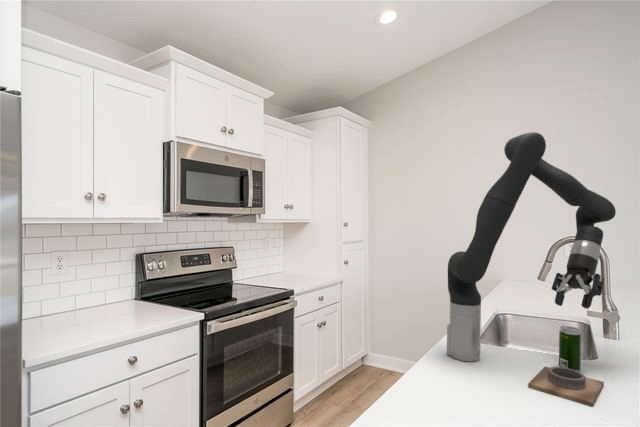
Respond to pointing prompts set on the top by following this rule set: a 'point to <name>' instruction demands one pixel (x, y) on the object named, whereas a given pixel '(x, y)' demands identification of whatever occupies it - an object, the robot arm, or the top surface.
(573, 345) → the beer can
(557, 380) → the can holder
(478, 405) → the top surface
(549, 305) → the top surface
